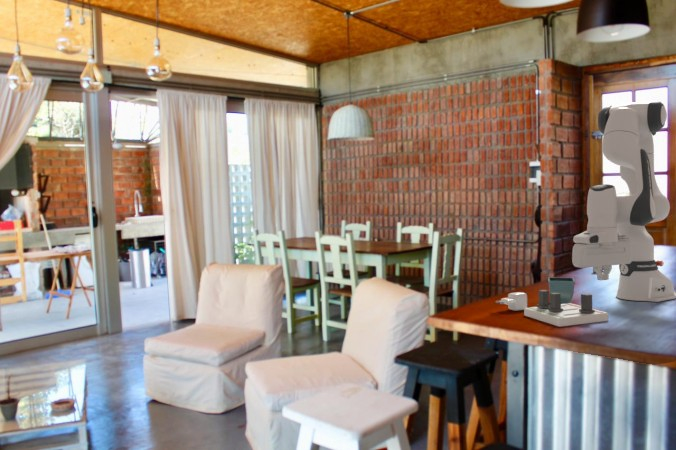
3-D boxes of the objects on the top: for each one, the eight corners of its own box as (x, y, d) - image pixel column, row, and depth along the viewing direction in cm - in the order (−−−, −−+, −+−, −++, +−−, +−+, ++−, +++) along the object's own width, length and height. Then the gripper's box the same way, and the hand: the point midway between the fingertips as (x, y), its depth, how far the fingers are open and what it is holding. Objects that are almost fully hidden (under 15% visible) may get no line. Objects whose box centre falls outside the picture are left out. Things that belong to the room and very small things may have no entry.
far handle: (545, 306, 196) (544, 289, 195) (551, 307, 193) (550, 290, 192) (536, 307, 195) (536, 290, 194) (542, 308, 192) (542, 291, 191)
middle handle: (556, 309, 190) (556, 292, 190) (562, 311, 187) (562, 293, 187) (548, 310, 189) (547, 293, 189) (554, 312, 186) (554, 294, 186)
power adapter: (502, 313, 200) (502, 296, 200) (493, 311, 204) (493, 294, 204) (529, 309, 204) (528, 293, 203) (520, 307, 208) (519, 291, 208)
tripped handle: (587, 310, 186) (587, 293, 186) (594, 312, 183) (594, 294, 183) (579, 311, 185) (578, 294, 185) (586, 313, 182) (585, 295, 182)
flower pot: (573, 301, 215) (573, 277, 214) (575, 306, 207) (574, 281, 206) (548, 301, 218) (548, 277, 217) (548, 305, 209) (548, 280, 209)
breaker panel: (570, 310, 200) (569, 302, 200) (608, 320, 183) (608, 312, 183) (524, 315, 195) (524, 307, 195) (559, 326, 178) (558, 318, 178)
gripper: (622, 234, 191) (622, 276, 191) (568, 237, 185) (569, 280, 186) (637, 235, 185) (637, 278, 185) (582, 238, 179) (582, 283, 180)
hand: (602, 279), depth 185 cm, fingers closed
